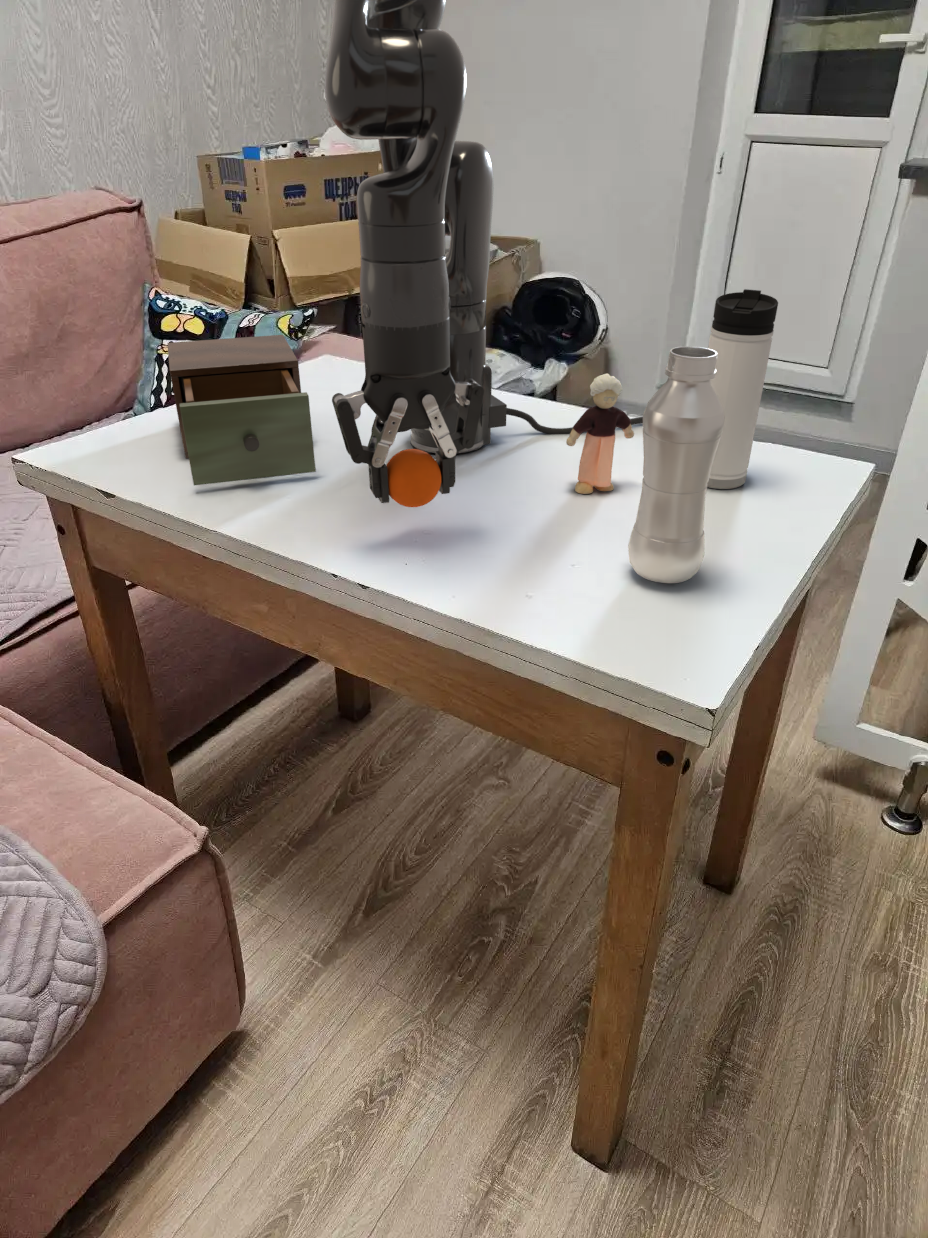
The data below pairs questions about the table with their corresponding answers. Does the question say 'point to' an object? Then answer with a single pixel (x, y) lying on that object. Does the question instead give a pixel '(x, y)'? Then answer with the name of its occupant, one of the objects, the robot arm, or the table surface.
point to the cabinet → (227, 361)
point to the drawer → (246, 426)
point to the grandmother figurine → (599, 435)
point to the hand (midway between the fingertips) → (413, 494)
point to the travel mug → (739, 377)
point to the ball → (413, 478)
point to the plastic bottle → (677, 468)
